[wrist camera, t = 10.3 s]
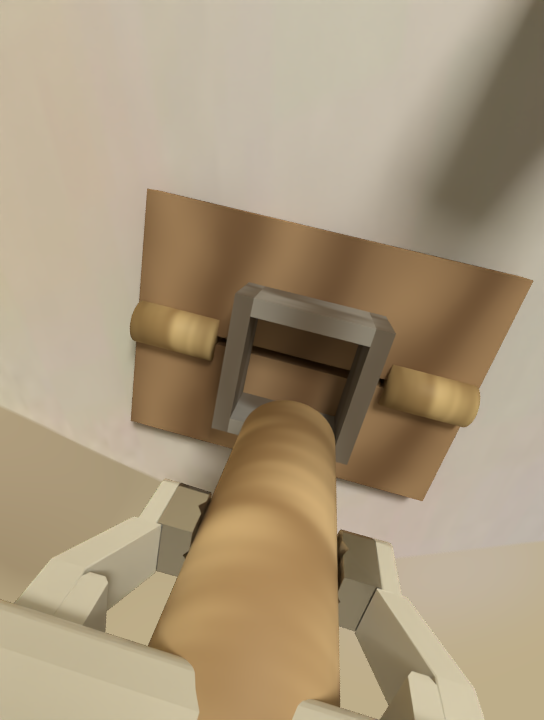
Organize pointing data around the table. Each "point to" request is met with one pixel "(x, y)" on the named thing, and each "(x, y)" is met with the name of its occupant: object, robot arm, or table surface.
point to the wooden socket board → (313, 336)
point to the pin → (263, 574)
